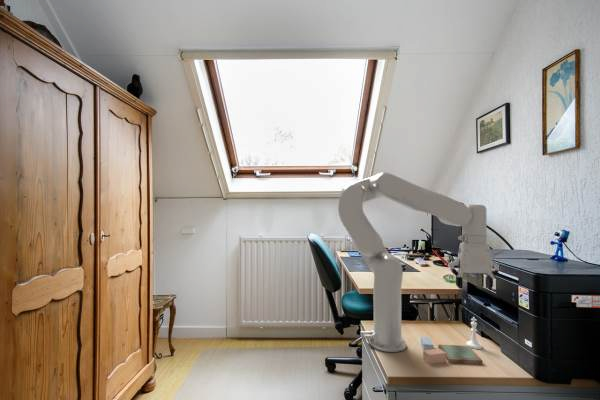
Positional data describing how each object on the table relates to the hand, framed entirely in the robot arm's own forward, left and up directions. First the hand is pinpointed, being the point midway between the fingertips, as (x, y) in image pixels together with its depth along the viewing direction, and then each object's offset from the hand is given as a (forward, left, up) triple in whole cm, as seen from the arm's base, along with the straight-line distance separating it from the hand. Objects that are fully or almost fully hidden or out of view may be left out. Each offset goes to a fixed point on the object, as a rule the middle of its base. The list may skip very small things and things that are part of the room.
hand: (474, 288), depth 110 cm
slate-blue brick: (-17, -4, -20) cm, 27 cm away
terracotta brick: (-17, -12, -20) cm, 29 cm away
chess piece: (0, 0, -20) cm, 20 cm away
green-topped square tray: (-8, -8, -20) cm, 23 cm away
